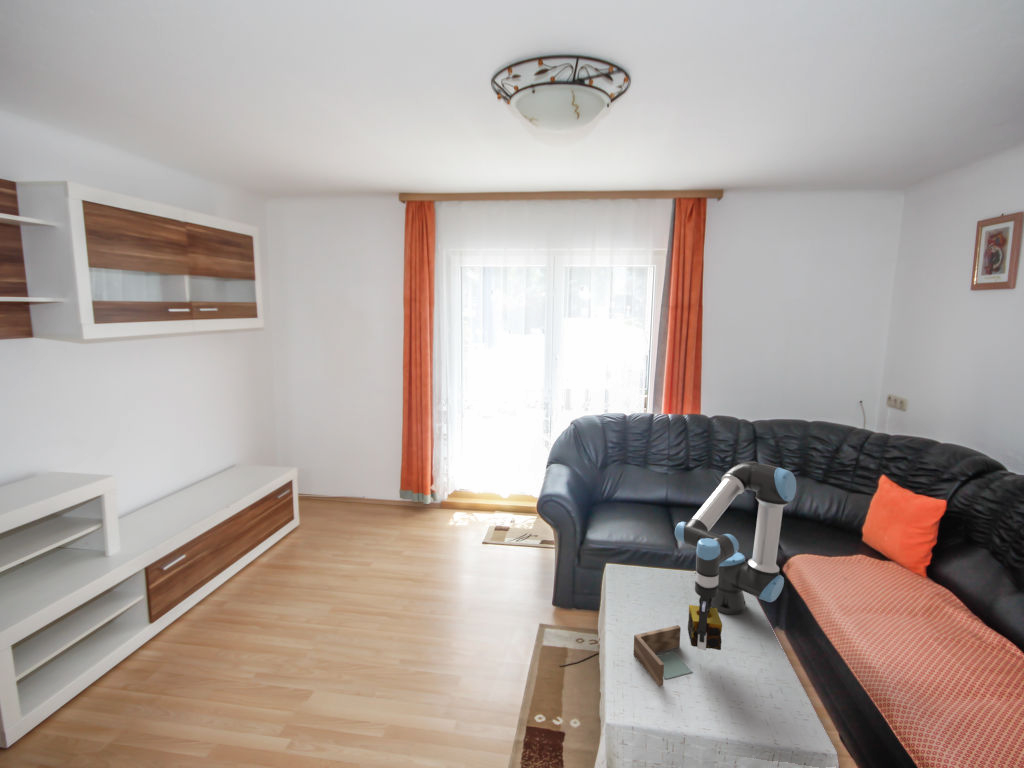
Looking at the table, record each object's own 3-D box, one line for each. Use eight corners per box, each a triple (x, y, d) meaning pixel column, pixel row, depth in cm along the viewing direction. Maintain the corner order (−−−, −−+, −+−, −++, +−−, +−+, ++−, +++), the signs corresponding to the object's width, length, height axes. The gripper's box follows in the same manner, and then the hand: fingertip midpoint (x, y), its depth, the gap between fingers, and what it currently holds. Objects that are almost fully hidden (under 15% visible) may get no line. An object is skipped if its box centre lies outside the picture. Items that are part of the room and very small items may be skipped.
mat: (673, 652, 189) (673, 651, 189) (692, 672, 179) (692, 671, 179) (648, 658, 186) (648, 657, 186) (665, 679, 176) (665, 678, 176)
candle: (721, 651, 177) (723, 625, 175) (690, 647, 179) (692, 621, 177) (715, 632, 187) (717, 607, 185) (687, 628, 189) (688, 604, 187)
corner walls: (677, 644, 194) (678, 625, 193) (705, 673, 178) (707, 653, 177) (633, 654, 188) (634, 635, 187) (659, 686, 173) (660, 665, 171)
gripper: (699, 564, 191) (697, 616, 195) (690, 598, 170) (687, 655, 174) (721, 568, 187) (718, 621, 191) (714, 603, 167) (711, 662, 171)
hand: (703, 638), depth 183 cm, fingers closed on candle, 11 cm apart
